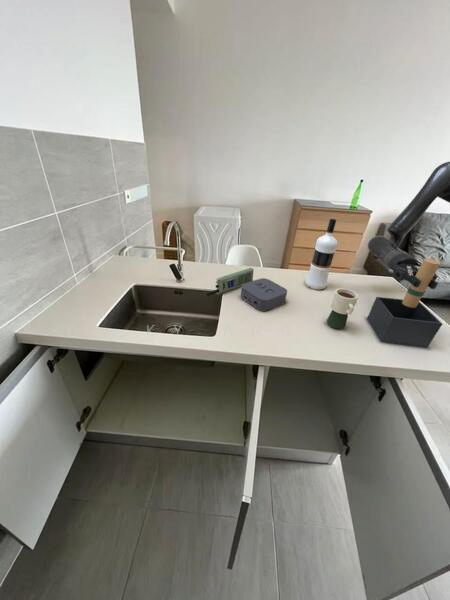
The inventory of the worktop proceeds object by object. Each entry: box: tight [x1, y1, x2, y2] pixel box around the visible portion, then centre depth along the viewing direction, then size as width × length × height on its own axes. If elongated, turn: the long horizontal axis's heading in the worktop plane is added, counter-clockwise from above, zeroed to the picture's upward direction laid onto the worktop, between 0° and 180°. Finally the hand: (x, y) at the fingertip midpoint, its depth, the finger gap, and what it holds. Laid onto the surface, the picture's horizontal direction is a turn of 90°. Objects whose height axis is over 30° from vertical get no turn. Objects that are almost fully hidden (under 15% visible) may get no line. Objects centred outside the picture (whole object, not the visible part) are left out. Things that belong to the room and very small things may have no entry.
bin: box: [366, 296, 443, 349], centre depth 82 cm, size 14×13×10 cm
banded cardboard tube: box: [402, 258, 441, 308], centre depth 75 cm, size 4×4×15 cm
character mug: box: [326, 287, 359, 330], centre depth 83 cm, size 11×7×13 cm, turn 4°
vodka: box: [304, 218, 338, 291], centre depth 104 cm, size 9×9×30 cm
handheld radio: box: [206, 267, 254, 297], centre depth 104 cm, size 7×3×25 cm
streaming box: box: [240, 278, 288, 312], centre depth 98 cm, size 14×14×5 cm
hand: (426, 285), depth 72 cm, fingers closed on banded cardboard tube, 4 cm apart
